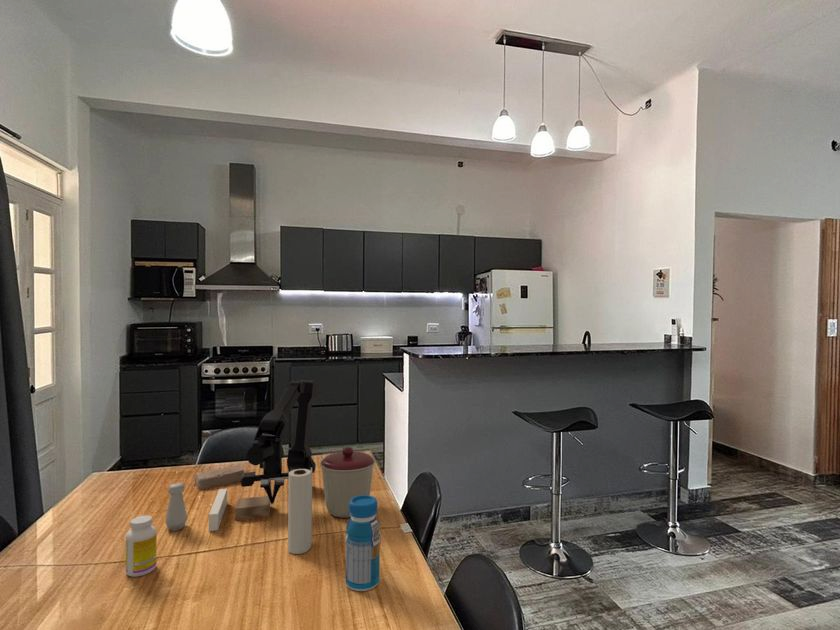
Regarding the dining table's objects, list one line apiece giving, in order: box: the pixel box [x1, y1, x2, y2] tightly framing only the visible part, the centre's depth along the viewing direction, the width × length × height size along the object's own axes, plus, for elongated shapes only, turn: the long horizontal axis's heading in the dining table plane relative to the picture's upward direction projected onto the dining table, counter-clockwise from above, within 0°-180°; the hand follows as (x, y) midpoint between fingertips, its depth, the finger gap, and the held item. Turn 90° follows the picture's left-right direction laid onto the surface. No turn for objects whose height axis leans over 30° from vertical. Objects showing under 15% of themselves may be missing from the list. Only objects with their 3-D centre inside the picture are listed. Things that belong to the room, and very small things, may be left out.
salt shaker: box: [164, 482, 188, 532], centre depth 139 cm, size 6×6×13 cm
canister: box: [319, 446, 376, 519], centre depth 152 cm, size 18×18×21 cm
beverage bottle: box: [344, 495, 382, 592], centre depth 112 cm, size 8×8×20 cm
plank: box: [208, 488, 228, 532], centre depth 147 cm, size 2×20×5 cm, turn 16°
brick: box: [194, 464, 245, 491], centre depth 177 cm, size 17×8×5 cm, turn 127°
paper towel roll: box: [287, 468, 313, 555], centre depth 128 cm, size 7×6×21 cm
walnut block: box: [234, 495, 271, 521], centre depth 150 cm, size 10×8×4 cm
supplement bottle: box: [125, 515, 157, 578], centre depth 116 cm, size 7×7×13 cm
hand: (272, 503), depth 151 cm, fingers closed
